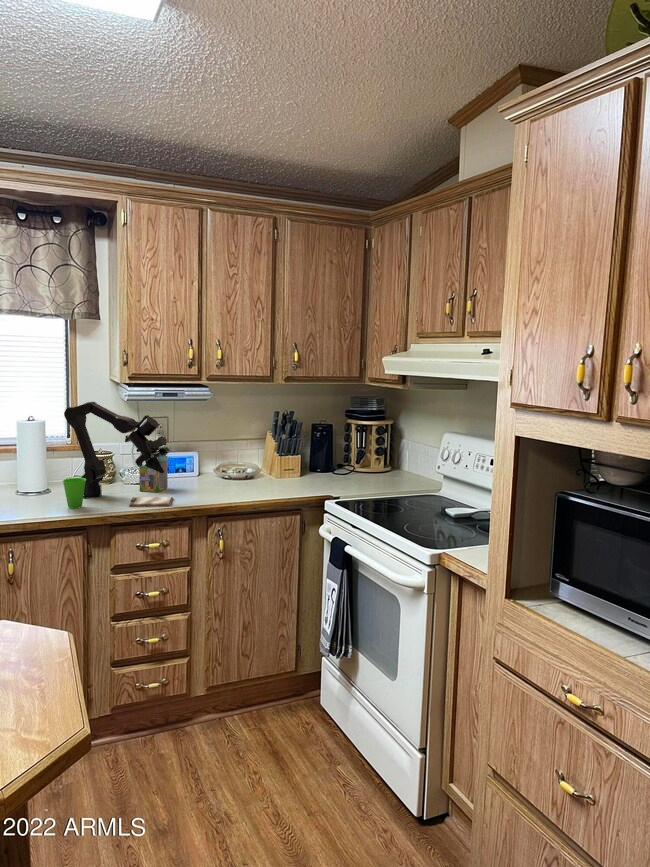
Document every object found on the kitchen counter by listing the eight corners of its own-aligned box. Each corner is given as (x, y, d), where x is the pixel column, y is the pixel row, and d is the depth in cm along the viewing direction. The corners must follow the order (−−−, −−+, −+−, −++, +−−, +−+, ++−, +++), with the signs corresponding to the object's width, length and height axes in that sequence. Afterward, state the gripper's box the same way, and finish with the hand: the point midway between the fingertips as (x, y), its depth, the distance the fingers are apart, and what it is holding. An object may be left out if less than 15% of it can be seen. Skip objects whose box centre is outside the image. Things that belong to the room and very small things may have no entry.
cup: (91, 507, 262) (90, 480, 261) (69, 510, 255) (69, 483, 254) (80, 503, 268) (79, 476, 266) (58, 506, 261) (57, 479, 260)
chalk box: (158, 492, 290) (157, 459, 288) (138, 491, 291) (138, 458, 289) (167, 488, 299) (166, 456, 297) (148, 487, 300) (148, 455, 298)
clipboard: (129, 506, 264) (129, 502, 264) (133, 499, 277) (133, 494, 277) (170, 506, 267) (169, 501, 266) (172, 498, 279) (172, 494, 279)
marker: (159, 488, 267) (159, 457, 266) (157, 486, 271) (157, 455, 269) (168, 488, 269) (168, 456, 267) (166, 486, 272) (166, 455, 271)
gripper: (141, 433, 259) (166, 463, 257) (165, 427, 277) (189, 455, 275) (124, 451, 262) (149, 481, 261) (149, 445, 280) (172, 472, 278)
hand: (166, 471), depth 269 cm, fingers closed on marker, 4 cm apart
